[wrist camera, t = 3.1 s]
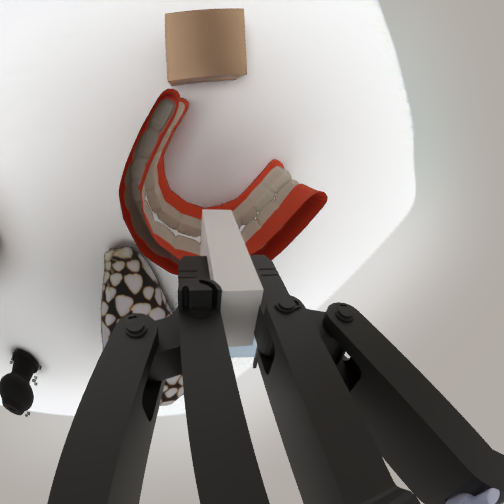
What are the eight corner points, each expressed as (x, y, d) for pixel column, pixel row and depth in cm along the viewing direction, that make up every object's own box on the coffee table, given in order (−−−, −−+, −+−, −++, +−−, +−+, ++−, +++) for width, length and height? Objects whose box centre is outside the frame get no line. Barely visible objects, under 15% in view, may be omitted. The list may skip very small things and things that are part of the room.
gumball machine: (14, 363, 28) (0, 412, 20) (4, 340, 26) (-15, 392, 17) (46, 373, 31) (35, 425, 22) (38, 351, 28) (23, 408, 20)
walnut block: (171, 85, 18) (167, 81, 14) (169, 31, 15) (165, 13, 11) (233, 79, 19) (246, 73, 15) (231, 26, 16) (243, 8, 12)
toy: (110, 195, 21) (83, 239, 15) (171, 90, 18) (163, 83, 12) (226, 254, 27) (242, 309, 21) (290, 168, 24) (332, 199, 17)
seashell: (217, 330, 33) (231, 400, 24) (141, 366, 33) (141, 430, 25) (126, 231, 23) (103, 303, 15) (51, 292, 24) (23, 360, 16)
